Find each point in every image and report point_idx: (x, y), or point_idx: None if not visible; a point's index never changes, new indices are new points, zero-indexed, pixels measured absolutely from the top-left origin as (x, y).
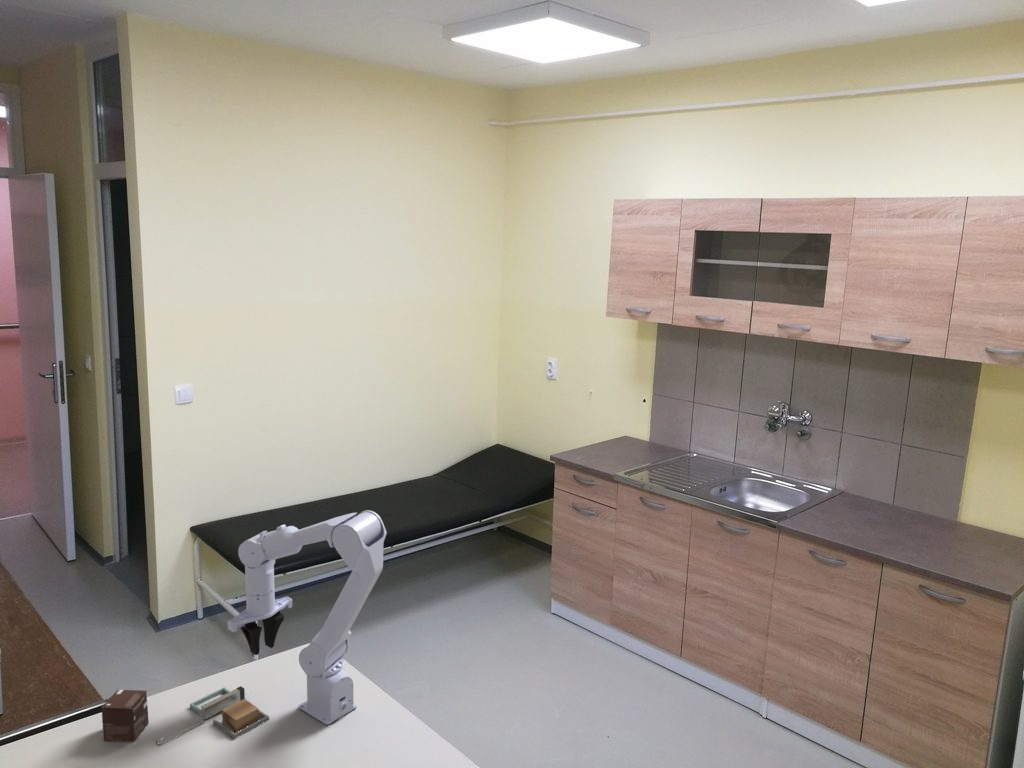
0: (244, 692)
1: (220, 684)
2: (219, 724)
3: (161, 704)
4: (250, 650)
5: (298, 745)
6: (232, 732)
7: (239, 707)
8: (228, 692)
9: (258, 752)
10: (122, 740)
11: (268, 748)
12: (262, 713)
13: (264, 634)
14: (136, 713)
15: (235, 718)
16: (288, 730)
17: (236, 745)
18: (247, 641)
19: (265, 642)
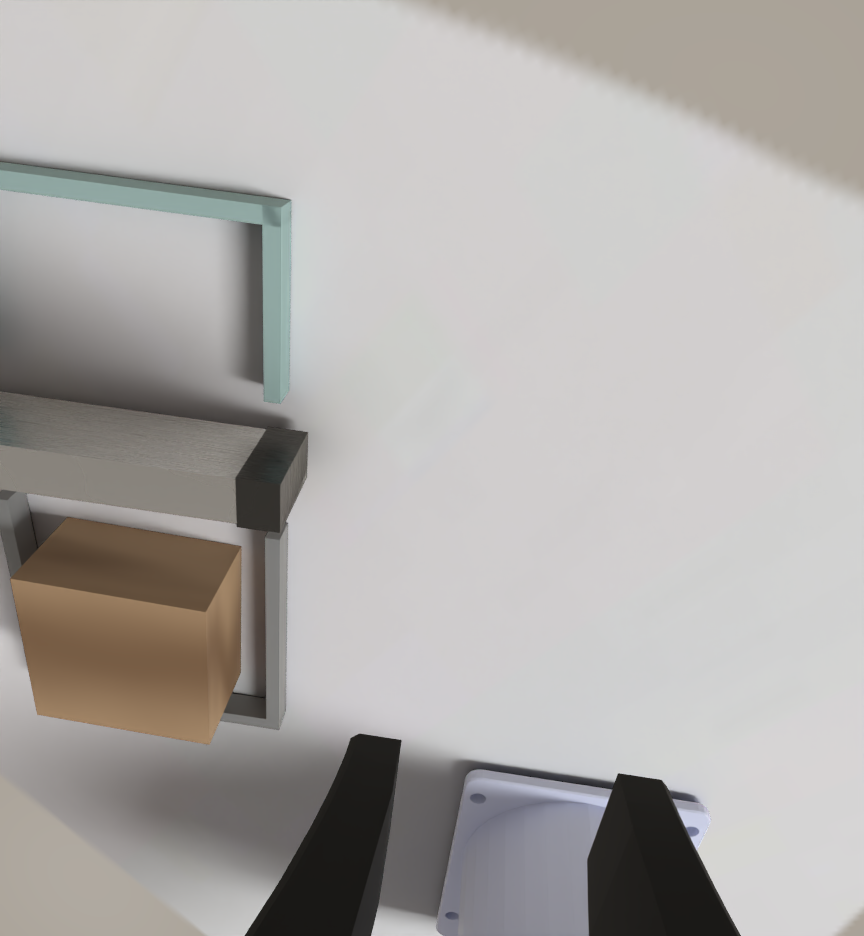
0: (289, 511)
1: (334, 61)
2: (9, 562)
3: None
4: (347, 754)
5: (255, 894)
6: None
7: (120, 652)
8: (265, 307)
9: (95, 807)
10: None
11: (145, 822)
12: (271, 687)
13: (662, 930)
14: None
15: (44, 701)
16: (296, 820)
17: None
18: (279, 882)
19: (620, 818)
